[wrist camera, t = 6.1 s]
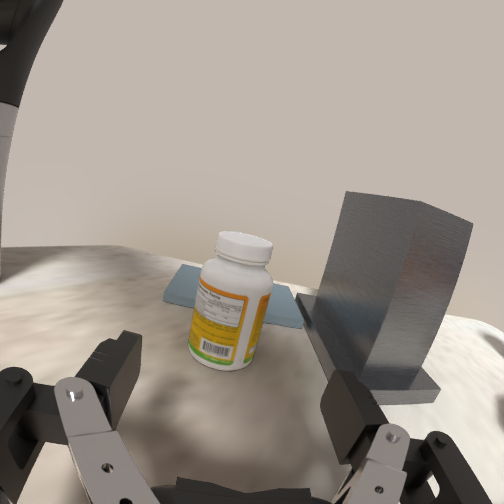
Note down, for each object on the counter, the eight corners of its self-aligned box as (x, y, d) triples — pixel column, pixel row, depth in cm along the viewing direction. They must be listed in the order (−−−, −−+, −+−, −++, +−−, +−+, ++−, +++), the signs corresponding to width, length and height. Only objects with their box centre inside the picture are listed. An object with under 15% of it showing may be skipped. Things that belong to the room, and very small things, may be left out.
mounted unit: (338, 404, 20) (414, 194, 16) (294, 303, 39) (325, 186, 36) (433, 402, 20) (502, 234, 17) (360, 314, 40) (393, 207, 37)
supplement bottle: (233, 334, 27) (257, 232, 25) (264, 367, 23) (298, 252, 21) (178, 337, 24) (198, 224, 22) (202, 376, 20) (230, 245, 18)
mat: (163, 301, 30) (164, 292, 30) (181, 270, 41) (182, 264, 41) (301, 328, 32) (304, 320, 31) (286, 293, 42) (288, 286, 42)
